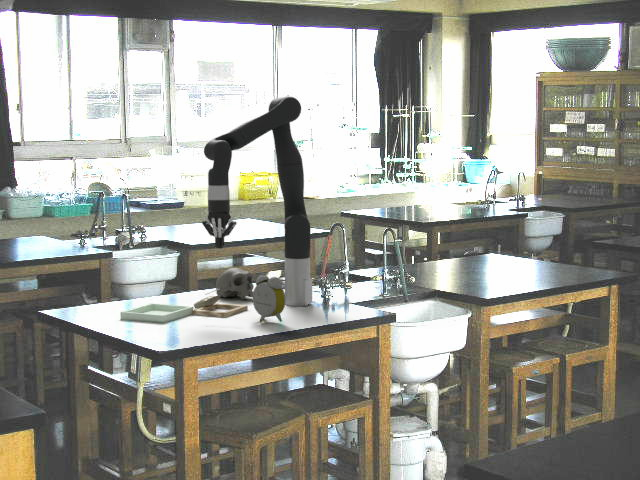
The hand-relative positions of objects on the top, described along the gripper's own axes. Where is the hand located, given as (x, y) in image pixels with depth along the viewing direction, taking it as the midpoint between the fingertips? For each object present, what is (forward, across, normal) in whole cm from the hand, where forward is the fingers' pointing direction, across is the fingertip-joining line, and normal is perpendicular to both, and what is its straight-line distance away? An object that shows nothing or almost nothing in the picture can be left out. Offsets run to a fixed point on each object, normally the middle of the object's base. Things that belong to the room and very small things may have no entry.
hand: (219, 248), depth 361 cm
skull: (+23, +10, -29) cm, 38 cm away
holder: (+22, 0, 0) cm, 23 cm away
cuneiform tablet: (+17, +1, 0) cm, 17 cm away
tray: (+22, +16, +16) cm, 32 cm away
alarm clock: (+23, -22, +8) cm, 33 cm away
